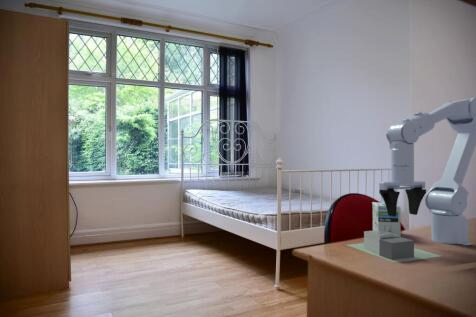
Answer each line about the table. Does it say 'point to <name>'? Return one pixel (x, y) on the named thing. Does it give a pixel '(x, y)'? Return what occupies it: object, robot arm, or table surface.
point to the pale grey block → (376, 239)
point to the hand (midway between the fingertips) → (402, 215)
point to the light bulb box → (385, 219)
